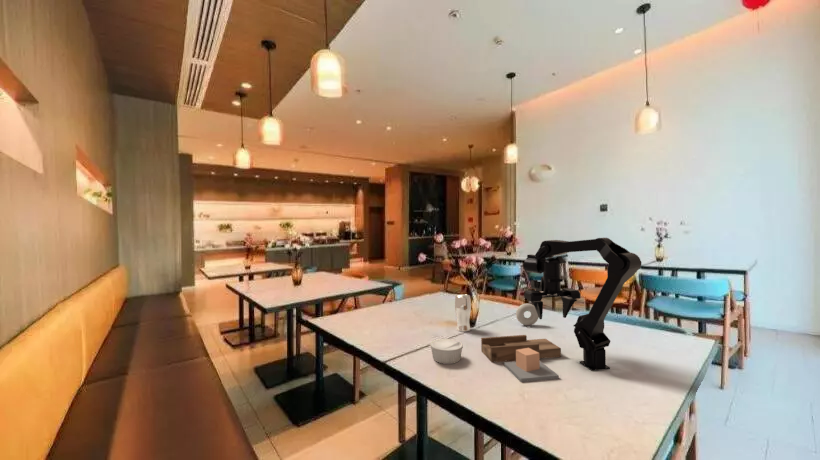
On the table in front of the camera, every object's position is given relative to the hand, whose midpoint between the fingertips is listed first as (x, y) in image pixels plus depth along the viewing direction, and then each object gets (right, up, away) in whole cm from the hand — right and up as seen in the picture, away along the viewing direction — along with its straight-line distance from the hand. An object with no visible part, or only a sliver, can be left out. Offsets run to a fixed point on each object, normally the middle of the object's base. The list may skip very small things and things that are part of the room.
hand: (552, 318), depth 122 cm
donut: (+2, -12, +32) cm, 34 cm away
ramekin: (-38, -13, -4) cm, 41 cm away
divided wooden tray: (-12, -12, -1) cm, 17 cm away
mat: (-14, -13, -16) cm, 24 cm away
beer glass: (-28, -12, +28) cm, 41 cm away
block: (-14, -12, -15) cm, 23 cm away
